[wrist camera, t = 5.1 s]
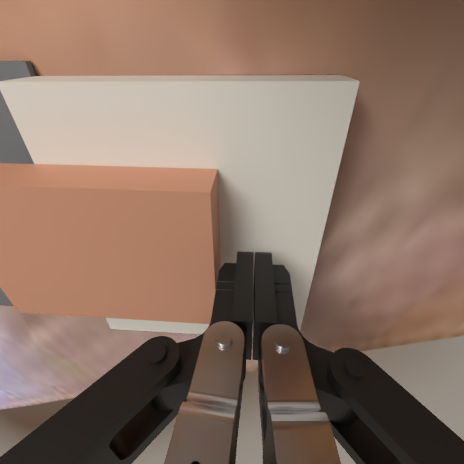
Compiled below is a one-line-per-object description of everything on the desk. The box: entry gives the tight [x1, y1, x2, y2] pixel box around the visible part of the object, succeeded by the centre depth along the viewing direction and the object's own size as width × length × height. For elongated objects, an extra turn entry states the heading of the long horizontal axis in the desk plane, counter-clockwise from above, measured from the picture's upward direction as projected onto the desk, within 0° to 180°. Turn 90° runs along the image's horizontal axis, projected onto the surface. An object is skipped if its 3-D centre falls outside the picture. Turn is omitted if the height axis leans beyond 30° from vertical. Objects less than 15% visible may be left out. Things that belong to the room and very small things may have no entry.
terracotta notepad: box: [0, 163, 221, 324], centre depth 12 cm, size 10×7×2 cm
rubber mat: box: [0, 61, 36, 306], centre depth 15 cm, size 10×15×1 cm, turn 0°
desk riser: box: [0, 75, 360, 337], centre depth 13 cm, size 12×14×2 cm
